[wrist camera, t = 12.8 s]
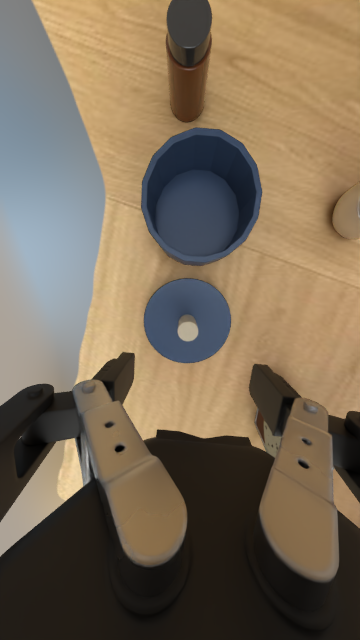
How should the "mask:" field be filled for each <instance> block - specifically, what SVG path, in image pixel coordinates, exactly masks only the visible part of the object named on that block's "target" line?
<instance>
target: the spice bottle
mask: <svg viewBox="0 0 360 640" xmlns="http://www.w3.org/2000/svg"><path fill="white" fill-rule="evenodd" d="M211 24H212V13H211V8H210V4H209V2H208V0H172V1H171V3H170V5H169V8H168V12H167V36H166V52H167V65H168V79H169V92H170V105H171V109H172V111H173V113H174V115H175V116H176V117H177V118H178V119H179V120H181V121H184V122H190V121H193V120H195V119H196V118H197V117H198V116H199V115H200V114H201V112H202V110H203V108H204V103H205V94H206V86H207V78H208V69H209V61H210V53H211V44H212V38H211Z"/></svg>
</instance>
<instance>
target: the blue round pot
mask: <svg viewBox="0 0 360 640" xmlns="http://www.w3.org/2000/svg"><path fill="white" fill-rule="evenodd" d="M261 196H262V188H261V183H260V178H259V173H258V168H257V164H256V163H255V161H254V160H253V158H252V157H251V155H250V154H249V152H248V151H247V149H246V148H245V146H244V145H243V144H242V143H241V142H240V141H238V140H236V139H235V138H233V137H232V136H230V135H228V134H227V133H225V132H223V131H222V130H219V129H207V128H193V129H190V130H188V131H185V132H183V133H180V134H178V135H175V136H173V137H171V138H170V139H169V140H168V141H167V142H166V143H165V144H164V145H163V146H162V147H161V148H160V149H159V150H158V151H157V152H156V153H155V154H154V155H153V157H152V159H151V161H150V164H149V166H148V168H147V171H146V173H145V176H144V178H143V181H142V200H141V209H142V212H143V215H144V218H145V221H146V224H147V227H148V230H149V232H150V234H151V235H152V236H153V238H154V239H155V240H156V242H157V243H158V244H159V245H160V247H161V248H162V249H163V250H164V252H165V253H166V254H167V255H168V256H169V257H171V258H172V259H174V260H176V261H178V262H180V263H182V264H184V265H192V266H203V265H206V264H209V263H212V262H215V261H218V260H220V259H222V258H224V257H226V256H227V255H229V254H230V253H231V252H232V251H233V250H235V249H236V248H237V247H238V246H239V245H241V244H242V243H243V242H244V241H245V240H246V239H247V237H248V235H249V233H250V232H251V230H252V228H253V226H254V224H255V223H256V221H257V219H258V215H259V209H260V203H261Z"/></svg>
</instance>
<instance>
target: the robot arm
mask: <svg viewBox="0 0 360 640" xmlns="http://www.w3.org/2000/svg"><path fill="white" fill-rule="evenodd" d="M134 360H135V355H134V353H126V352H122V354H121V355H120V356H119V357H118V358H117V359H112V360H110V361H108V362H107V363H106V364H105V365H104V366H103V367H102V368H101V369H100V371H99V372H98V373H97V374H96V375H95V376H94V377H93V378H92V379H91V380H86V381H82V382H80V383H78V384H77V385H75V386H74V387H73V390H72V391H70V392H61V393H54V387H53V386H52V385H49V384H37V385H33V386H30V387H27V388H25V389H23V390H22V391H20V392H18V393H17V394H16V395H15V396H13V397H12V398H11V399H9V400H8V401H7V402H5V403H4V404H3V405H1V406H0V522H1V520H2V519H3V517H4V516H5V515H6V513H7V512H8V510H9V509H10V507H11V506H12V505H13V503H14V502H15V500H16V499H17V497H18V496H19V495H20V493H21V491H22V490H23V489H24V487H25V486H26V484H27V483H28V482H29V480H30V478H31V477H32V476H33V474H34V473H35V472H36V470H37V469H38V467H39V466H40V464H41V463H42V461H43V460H44V459H45V457H46V456H47V454H48V453H49V451H50V450H51V449H52V447H53V446H54V444H55V443H56V441H60V440H66V439H71V438H75V442H76V447H77V452H78V456H79V461H80V466H81V471H82V478H83V487H82V488H81V489H80V490H79V491H78V492H76V493H75V494H74V495H73V496H72V497H70V498H69V499H68V500H67V501H66V502H64V503H63V504H62V505H61V506H60V507H58V508H57V509H56V510H55V511H54V512H52V513H51V514H50V515H49V516H48V517H46V518H45V519H44V520H43V521H42V522H41V523H39V524H38V525H37V526H35V527H34V528H33V529H32V530H31V531H30V532H28V533H27V534H26V535H25V536H23V537H22V538H21V539H20V540H19V541H17V542H16V543H15V544H14V545H13V546H12V547H10V548H9V549H8V550H7V551H6V552H5V553H4V554H2V555H1V557H0V640H360V529H359V528H358V527H357V526H356V525H355V524H354V523H352V522H351V521H350V520H349V519H348V518H346V517H345V516H344V515H343V514H342V513H340V512H339V511H338V510H337V508H336V506H335V505H334V501H333V467H334V468H335V470H336V471H337V472H338V474H339V475H340V476H341V478H342V479H343V481H344V482H345V483H346V485H347V486H348V487H349V489H350V490H351V492H352V493H353V494H354V496H355V497H356V498H357V500H358V501H359V503H360V412H356V411H349V412H348V413H347V415H346V418H345V419H342V418H338V417H335V416H331V415H328V411H327V410H326V409H325V408H324V407H323V406H322V405H320V404H319V403H317V402H315V401H312V400H310V399H306V398H302V397H301V396H300V395H299V394H298V393H297V392H296V391H295V390H294V389H293V388H292V387H291V386H290V385H289V384H288V383H287V382H286V381H285V380H284V379H283V378H282V377H281V376H279V375H277V374H276V373H274V372H273V371H272V370H271V369H270V368H269V367H268V366H267V365H261V364H254V366H253V369H252V374H251V380H250V385H249V391H250V395H251V397H252V398H253V400H254V402H255V404H256V405H257V407H258V409H259V411H260V413H261V414H262V416H263V418H264V420H265V421H266V423H267V425H268V427H269V429H270V430H271V432H272V434H273V436H278V437H282V439H281V442H280V445H279V448H278V451H277V454H276V457H273V456H272V455H270V454H269V453H267V452H265V451H263V450H261V449H259V448H256V447H254V446H252V445H251V442H250V440H249V438H248V437H237V436H220V437H213V438H205V439H204V438H199V437H196V436H193V435H190V434H186V433H183V432H180V431H168V430H157V435H156V437H154V438H150V439H146V440H144V441H143V440H142V438H141V436H140V435H139V433H138V431H137V430H136V428H135V426H134V425H133V423H132V421H131V419H130V418H129V416H128V414H127V413H126V411H125V409H124V408H123V406H122V404H123V402H124V400H125V398H126V396H127V394H128V392H129V390H130V388H131V386H132V383H133V379H134ZM21 436H22V437H21ZM20 437H21V438H20ZM19 438H20V439H19ZM18 439H19V440H18Z"/></svg>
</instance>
